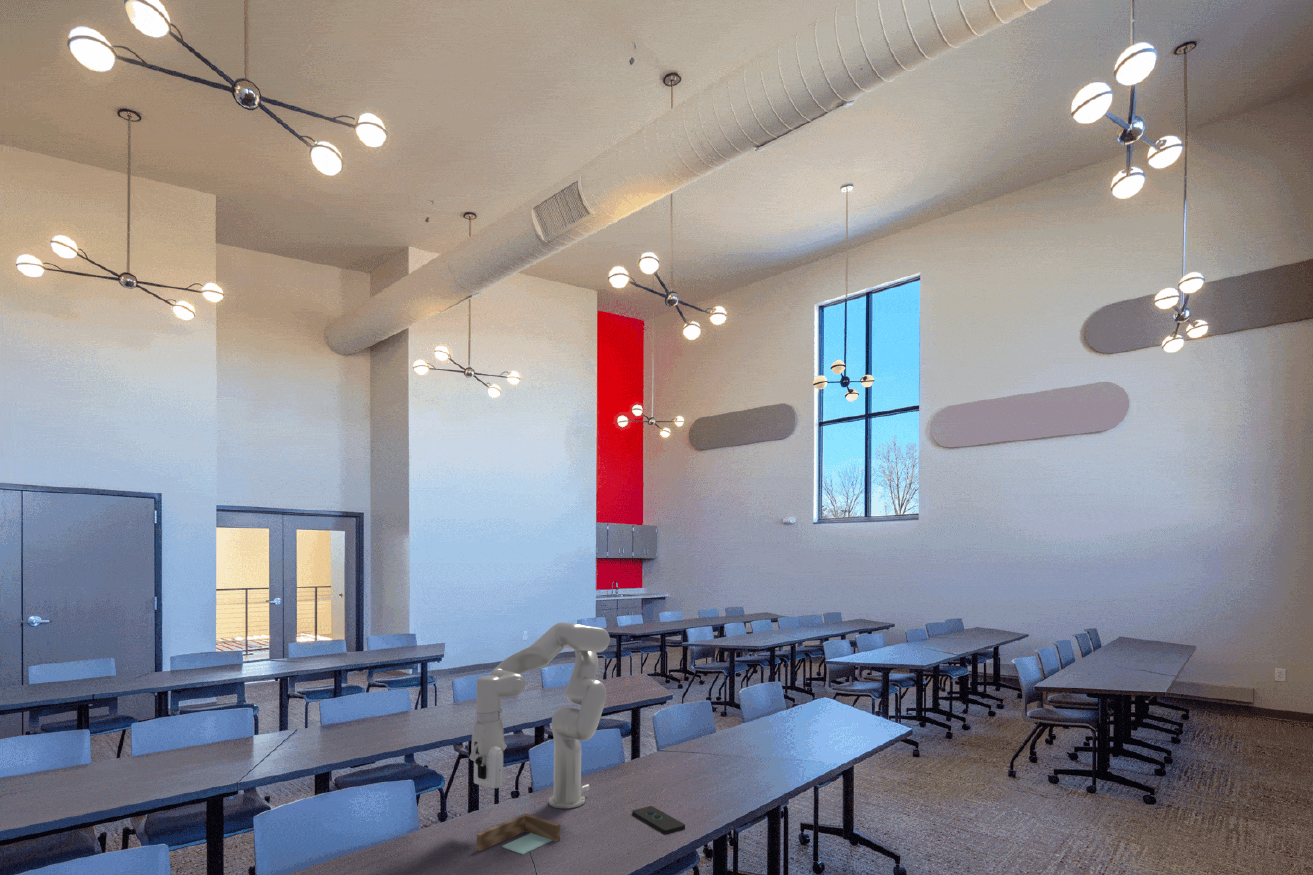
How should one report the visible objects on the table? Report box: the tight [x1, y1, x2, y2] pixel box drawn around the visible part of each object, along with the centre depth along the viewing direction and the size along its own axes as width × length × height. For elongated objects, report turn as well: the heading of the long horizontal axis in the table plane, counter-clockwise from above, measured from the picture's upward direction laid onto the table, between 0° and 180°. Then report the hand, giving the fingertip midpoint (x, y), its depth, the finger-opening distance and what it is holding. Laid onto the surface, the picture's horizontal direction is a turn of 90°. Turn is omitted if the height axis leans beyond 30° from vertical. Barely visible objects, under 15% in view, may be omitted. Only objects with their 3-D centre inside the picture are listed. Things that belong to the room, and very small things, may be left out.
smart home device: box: [631, 805, 686, 835], centre depth 231 cm, size 8×2×20 cm
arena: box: [476, 813, 561, 852], centre depth 214 cm, size 20×15×4 cm
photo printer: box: [473, 746, 504, 789], centre depth 227 cm, size 10×4×12 cm, turn 61°
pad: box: [501, 833, 553, 856], centre depth 214 cm, size 12×9×1 cm
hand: (488, 774), depth 227 cm, fingers closed on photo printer, 4 cm apart
